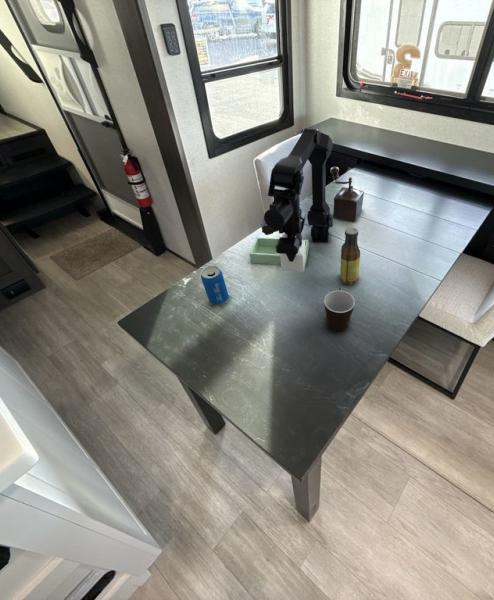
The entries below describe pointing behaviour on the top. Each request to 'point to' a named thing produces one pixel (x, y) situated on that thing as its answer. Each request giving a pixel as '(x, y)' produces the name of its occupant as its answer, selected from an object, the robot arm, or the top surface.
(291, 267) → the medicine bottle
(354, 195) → the coffee grinder
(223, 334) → the top surface
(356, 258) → the sauce bottle
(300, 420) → the top surface
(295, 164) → the robot arm
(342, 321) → the coffee mug
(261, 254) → the green divided tray
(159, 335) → the top surface
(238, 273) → the top surface
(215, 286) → the beverage can
